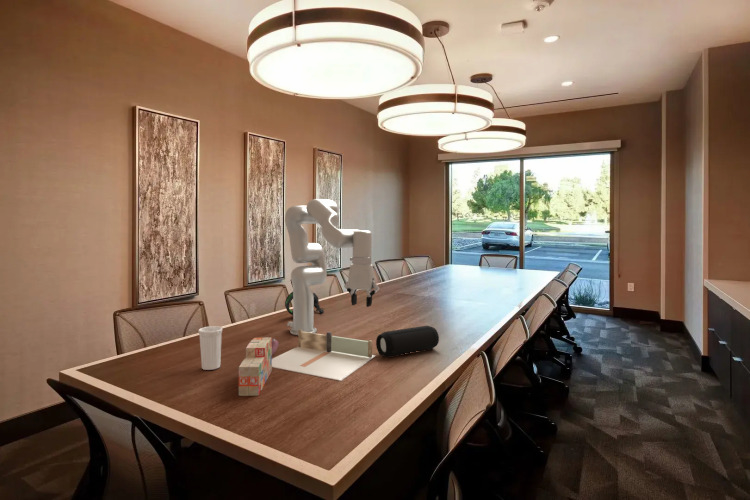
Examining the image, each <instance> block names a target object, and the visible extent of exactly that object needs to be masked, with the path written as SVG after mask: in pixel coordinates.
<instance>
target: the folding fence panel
mask: <svg viewBox="0 0 750 500" xmlns="http://www.w3.org/2000/svg"><path fill="white" fill-rule="evenodd" d="M331 351H334V352H340V353H346V354H352V355H358V356H364V357H369V358H371V357H372V355H373V340H363V339H362V340H361V339H356V338H350V337H343V336H342V337H341V336H338V335H337V336H336V335H332V337H331Z"/></svg>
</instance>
